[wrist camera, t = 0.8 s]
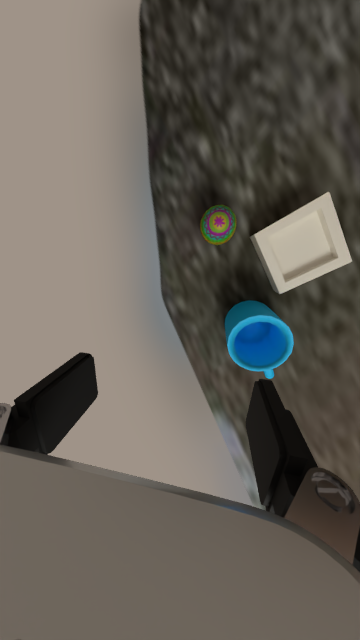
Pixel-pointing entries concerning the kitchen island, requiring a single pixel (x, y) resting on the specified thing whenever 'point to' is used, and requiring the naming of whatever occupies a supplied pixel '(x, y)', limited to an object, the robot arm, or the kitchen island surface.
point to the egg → (218, 224)
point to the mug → (257, 337)
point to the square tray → (302, 245)
